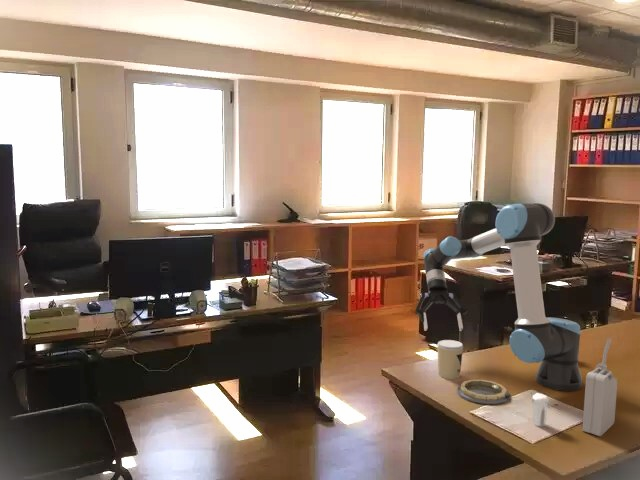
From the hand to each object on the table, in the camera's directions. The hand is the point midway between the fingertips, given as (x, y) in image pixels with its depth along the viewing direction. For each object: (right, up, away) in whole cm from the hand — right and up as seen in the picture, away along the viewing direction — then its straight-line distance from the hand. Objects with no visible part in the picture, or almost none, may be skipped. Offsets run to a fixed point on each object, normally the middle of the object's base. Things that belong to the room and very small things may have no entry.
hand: (443, 329), depth 210 cm
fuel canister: (+35, -21, -48) cm, 63 cm away
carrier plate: (+7, -18, -26) cm, 32 cm away
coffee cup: (0, -16, -8) cm, 18 cm away
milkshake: (+17, -21, -48) cm, 55 cm away
